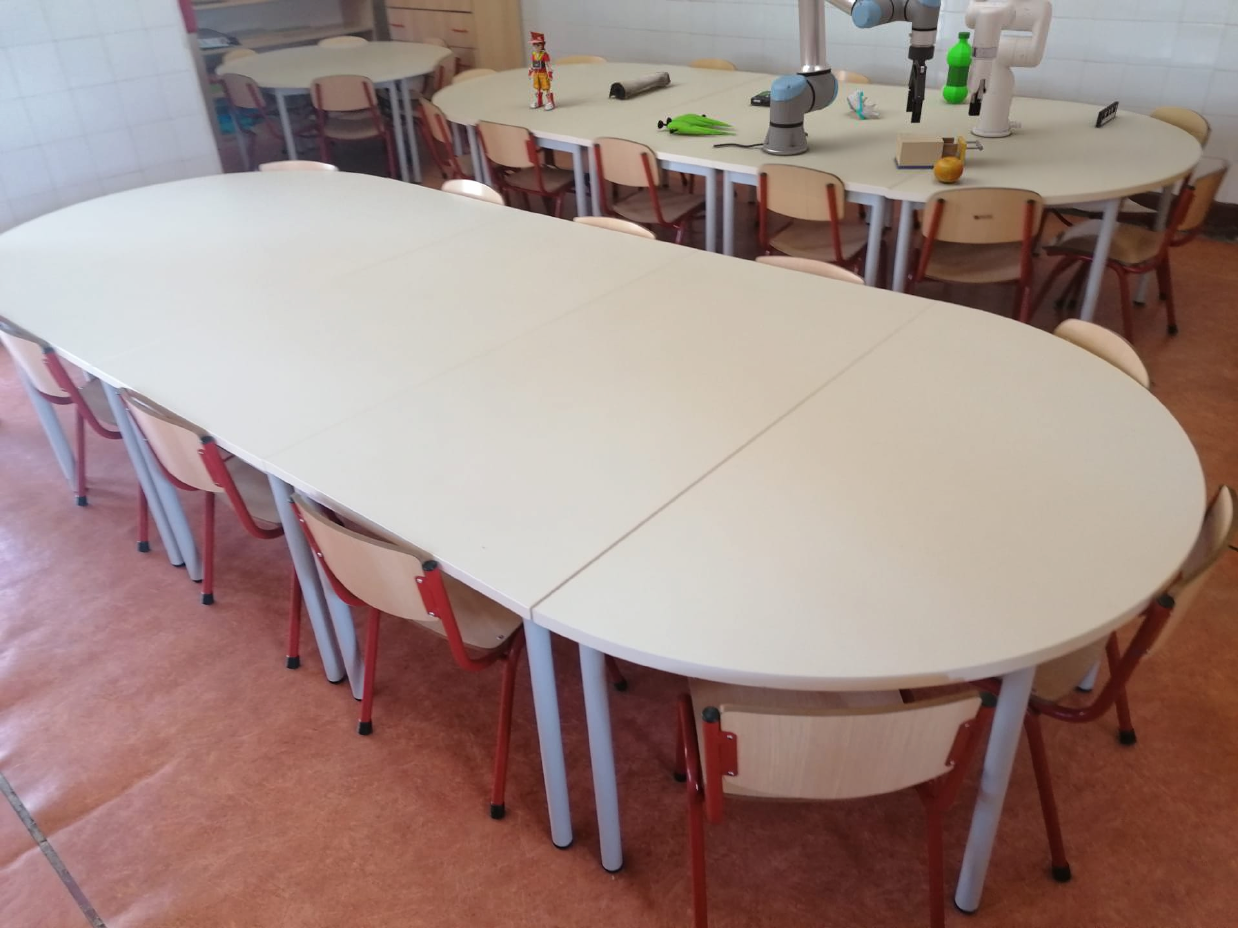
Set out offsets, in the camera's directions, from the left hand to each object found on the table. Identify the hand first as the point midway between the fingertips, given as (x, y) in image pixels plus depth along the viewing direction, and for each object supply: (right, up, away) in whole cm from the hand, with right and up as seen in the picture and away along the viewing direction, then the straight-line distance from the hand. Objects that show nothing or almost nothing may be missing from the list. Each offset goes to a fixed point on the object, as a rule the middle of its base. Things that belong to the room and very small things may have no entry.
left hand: (912, 117), depth 285 cm
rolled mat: (-84, +54, +112) cm, 150 cm away
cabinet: (+4, -12, +8) cm, 15 cm away
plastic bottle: (+39, +33, +69) cm, 86 cm away
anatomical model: (0, +24, +61) cm, 65 cm away
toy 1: (-126, +42, +97) cm, 165 cm away
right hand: (+18, 0, -3) cm, 19 cm away
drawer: (+14, -12, +6) cm, 19 cm away
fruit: (+8, -23, -8) cm, 26 cm away
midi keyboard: (+81, +12, +36) cm, 90 cm away
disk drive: (-32, +39, +85) cm, 99 cm away
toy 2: (-63, +16, +54) cm, 84 cm away
